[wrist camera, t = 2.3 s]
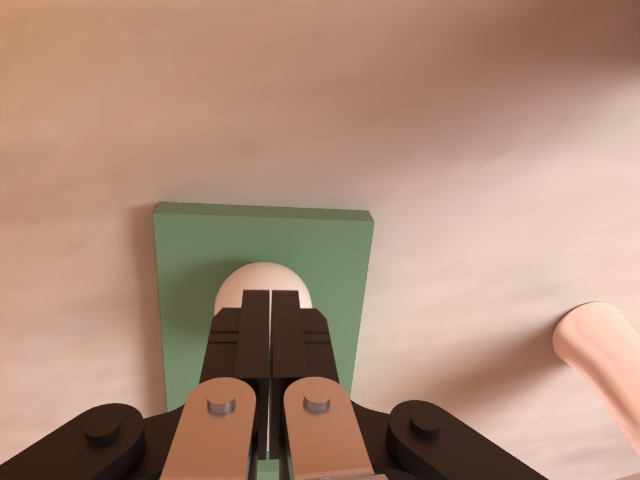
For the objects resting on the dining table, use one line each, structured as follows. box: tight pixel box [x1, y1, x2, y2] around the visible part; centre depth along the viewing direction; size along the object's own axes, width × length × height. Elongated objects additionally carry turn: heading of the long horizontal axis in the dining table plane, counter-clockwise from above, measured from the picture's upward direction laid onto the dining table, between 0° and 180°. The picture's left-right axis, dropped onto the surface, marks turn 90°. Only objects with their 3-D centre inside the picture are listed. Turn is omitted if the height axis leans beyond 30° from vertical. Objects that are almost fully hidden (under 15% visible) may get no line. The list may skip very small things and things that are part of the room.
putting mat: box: [153, 202, 374, 480], centre depth 35 cm, size 26×14×2 cm, turn 176°
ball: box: [214, 262, 312, 323], centre depth 28 cm, size 6×6×6 cm
